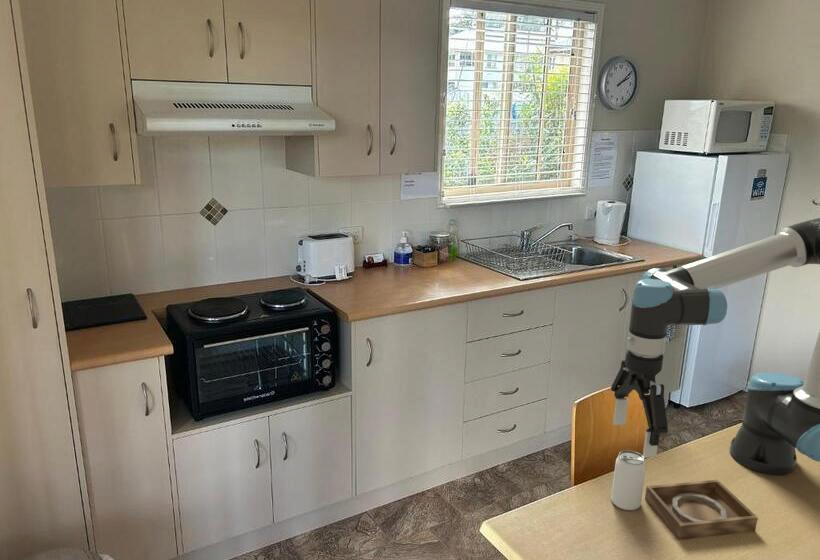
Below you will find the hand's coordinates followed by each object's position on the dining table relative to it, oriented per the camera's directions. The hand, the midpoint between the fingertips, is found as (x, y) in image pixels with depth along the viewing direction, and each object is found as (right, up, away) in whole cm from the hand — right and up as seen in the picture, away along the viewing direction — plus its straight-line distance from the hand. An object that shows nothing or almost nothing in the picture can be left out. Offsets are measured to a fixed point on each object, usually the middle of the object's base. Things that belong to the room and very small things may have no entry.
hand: (633, 439), depth 142 cm
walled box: (+15, -17, +1) cm, 23 cm away
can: (0, -16, +5) cm, 17 cm away
